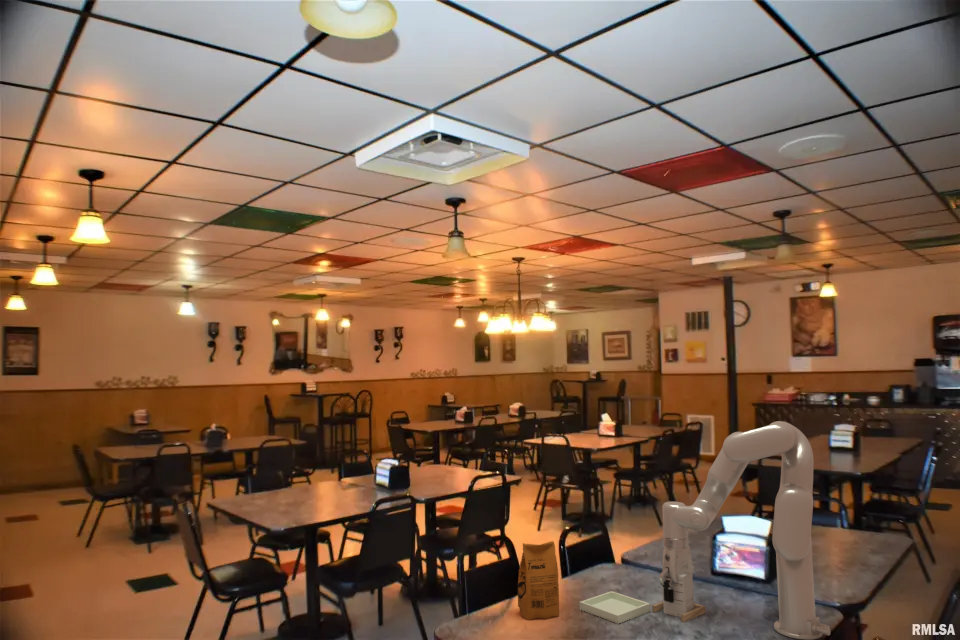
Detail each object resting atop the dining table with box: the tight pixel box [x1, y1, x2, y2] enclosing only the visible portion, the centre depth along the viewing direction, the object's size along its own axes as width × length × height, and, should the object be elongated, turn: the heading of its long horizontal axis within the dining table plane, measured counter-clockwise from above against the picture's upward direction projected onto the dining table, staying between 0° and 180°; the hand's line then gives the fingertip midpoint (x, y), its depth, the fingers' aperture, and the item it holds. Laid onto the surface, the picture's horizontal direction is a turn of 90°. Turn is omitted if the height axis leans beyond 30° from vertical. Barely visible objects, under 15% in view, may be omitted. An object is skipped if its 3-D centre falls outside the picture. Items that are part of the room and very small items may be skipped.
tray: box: [579, 590, 651, 625], centre depth 202 cm, size 16×16×2 cm
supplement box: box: [662, 571, 695, 618], centre depth 200 cm, size 7×7×13 cm
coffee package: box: [517, 540, 560, 621], centre depth 202 cm, size 10×12×22 cm
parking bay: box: [651, 600, 707, 623], centre depth 200 cm, size 12×12×2 cm
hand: (678, 598), depth 200 cm, fingers open, 9 cm apart
